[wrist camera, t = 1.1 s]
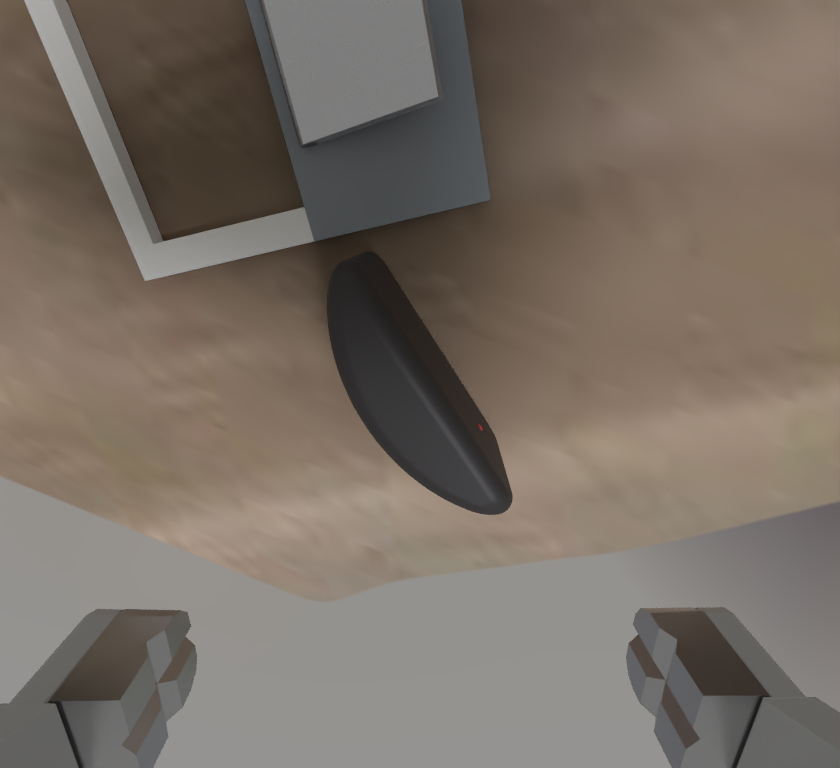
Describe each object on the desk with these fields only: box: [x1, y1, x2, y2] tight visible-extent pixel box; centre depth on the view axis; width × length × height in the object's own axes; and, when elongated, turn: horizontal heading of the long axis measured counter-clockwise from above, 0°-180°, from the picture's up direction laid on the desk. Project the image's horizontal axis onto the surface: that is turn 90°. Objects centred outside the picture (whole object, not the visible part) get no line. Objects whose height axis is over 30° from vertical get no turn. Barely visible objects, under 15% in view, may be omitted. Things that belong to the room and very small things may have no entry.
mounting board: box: [24, 0, 491, 281], centre depth 24 cm, size 22×20×1 cm
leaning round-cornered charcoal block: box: [327, 252, 512, 515], centre depth 26 cm, size 16×5×9 cm, turn 33°
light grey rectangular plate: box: [259, 0, 444, 148], centre depth 21 cm, size 8×10×1 cm
